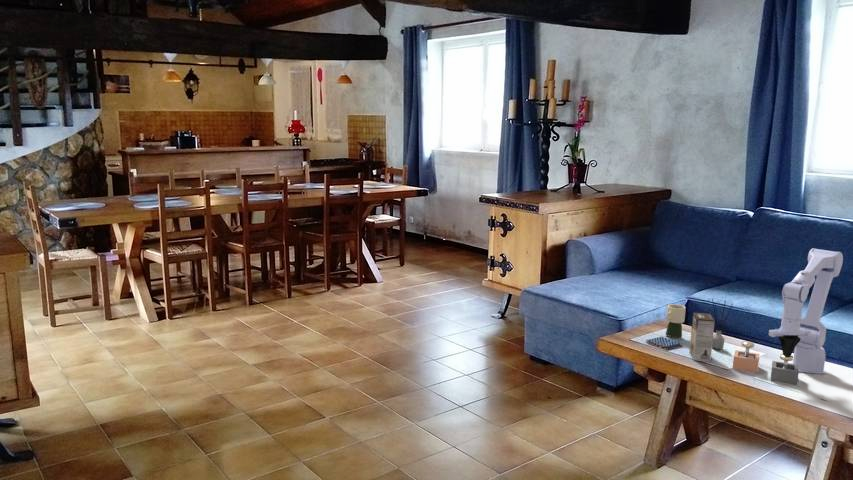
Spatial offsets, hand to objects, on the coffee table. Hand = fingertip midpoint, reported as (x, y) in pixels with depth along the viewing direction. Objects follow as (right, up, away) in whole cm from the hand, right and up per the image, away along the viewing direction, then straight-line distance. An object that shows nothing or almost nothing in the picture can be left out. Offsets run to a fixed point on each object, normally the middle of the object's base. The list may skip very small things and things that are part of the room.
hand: (786, 356), depth 230 cm
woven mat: (-30, -2, +35) cm, 46 cm away
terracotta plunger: (-8, -2, +11) cm, 14 cm away
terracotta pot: (-9, -6, +12) cm, 16 cm away
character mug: (-22, 0, +46) cm, 51 cm away
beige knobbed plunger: (0, -5, +1) cm, 6 cm away
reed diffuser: (-11, -3, +32) cm, 34 cm away
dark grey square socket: (0, -8, +1) cm, 8 cm away
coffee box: (-21, -4, +22) cm, 31 cm away
